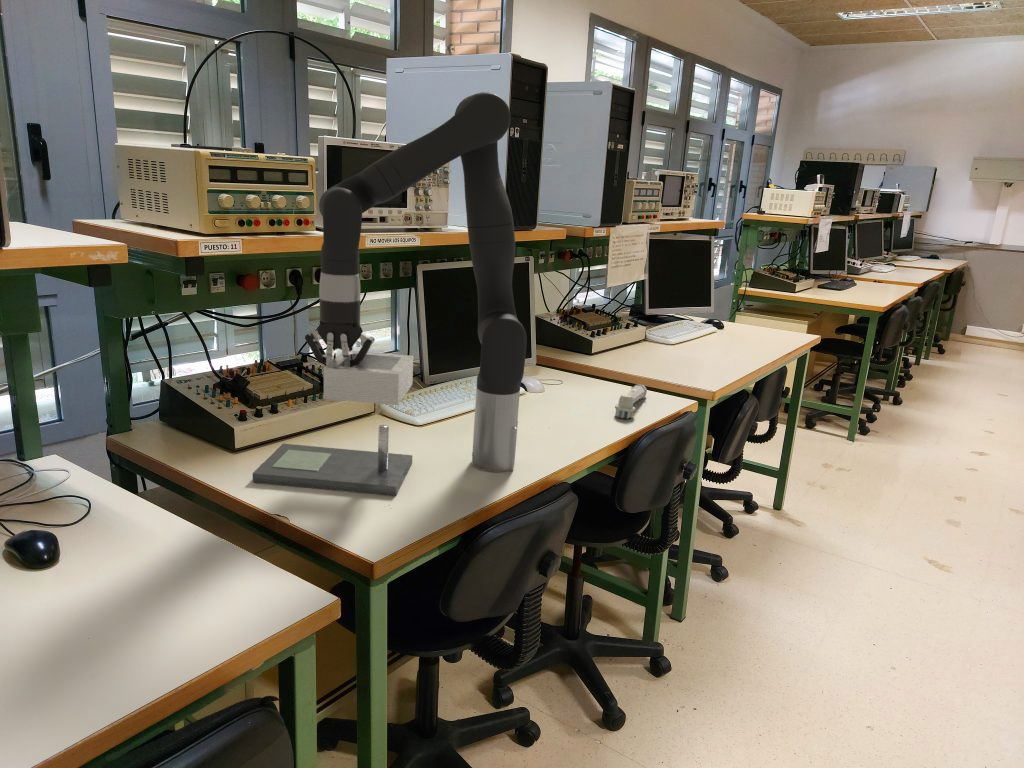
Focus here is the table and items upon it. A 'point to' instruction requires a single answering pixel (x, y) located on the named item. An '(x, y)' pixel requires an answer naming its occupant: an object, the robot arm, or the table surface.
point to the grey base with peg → (337, 468)
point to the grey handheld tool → (630, 401)
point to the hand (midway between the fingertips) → (339, 384)
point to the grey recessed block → (369, 378)
